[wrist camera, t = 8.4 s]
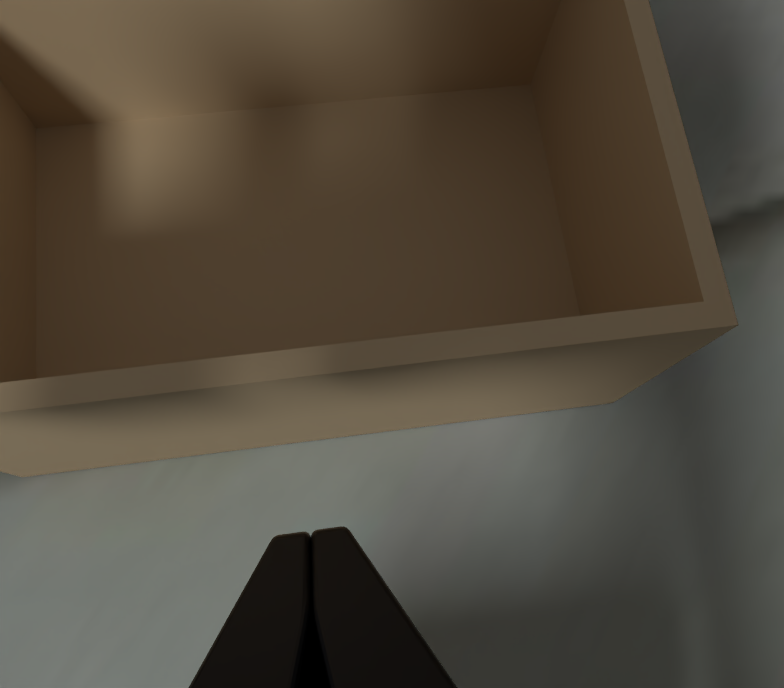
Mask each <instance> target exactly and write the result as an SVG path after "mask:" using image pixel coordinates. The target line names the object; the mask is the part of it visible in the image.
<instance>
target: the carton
mask: <svg viewBox="0 0 784 688" xmlns="http://www.w3.org/2000/svg"><path fill="white" fill-rule="evenodd" d="M736 326H738V322H737V318H736V315H735V311H734V307H733V304H732V300H731V297H730V293H729V289H728V286H727V282H726V279H725V275H724V271H723V268H722V264H721V260H720V257H719V253H718V250H717V246H716V242H715V239H714V235H713V232H712V228H711V224H710V221H709V217H708V213H707V210H706V206H705V203H704V199H703V195H702V192H701V188H700V185H699V181H698V177H697V174H696V170H695V166H694V163H693V159H692V156H691V152H690V148H689V145H688V141H687V138H686V134H685V130H684V127H683V123H682V119H681V116H680V112H679V109H678V105H677V101H676V98H675V94H674V91H673V87H672V83H671V80H670V76H669V72H668V69H667V65H666V62H665V58H664V54H663V51H662V47H661V44H660V40H659V36H658V33H657V29H656V25H655V22H654V18H653V15H652V11H651V7H650V4H649V0H0V472H4V473H8V474H12V475H16V476H20V477H28V476H36V475H43V474H51V473H59V472H67V471H75V470H83V469H91V468H99V467H107V466H115V465H123V464H131V463H139V462H147V461H155V460H163V459H171V458H179V457H187V456H195V455H203V454H210V453H218V452H226V451H234V450H242V449H250V448H258V447H266V446H274V445H282V444H290V443H298V442H306V441H314V440H322V439H330V438H338V437H346V436H354V435H362V434H370V433H377V432H385V431H393V430H401V429H409V428H417V427H425V426H433V425H441V424H449V423H457V422H465V421H473V420H481V419H489V418H497V417H505V416H513V415H521V414H529V413H537V412H544V411H552V410H560V409H568V408H576V407H584V406H592V405H600V404H608V403H613V402H615V401H616V400H618V399H620V398H621V397H623V396H624V395H626V394H628V393H629V392H631V391H633V390H634V389H636V388H637V387H639V386H641V385H642V384H644V383H645V382H647V381H649V380H650V379H652V378H654V377H655V376H657V375H658V374H660V373H662V372H663V371H665V370H666V369H668V368H670V367H671V366H673V365H675V364H676V363H678V362H679V361H681V360H683V359H684V358H686V357H687V356H689V355H691V354H692V353H694V352H696V351H697V350H699V349H700V348H702V347H704V346H705V345H707V344H708V343H710V342H712V341H713V340H715V339H717V338H718V337H720V336H721V335H723V334H725V333H726V332H728V331H729V330H731V329H733V328H734V327H736Z"/></svg>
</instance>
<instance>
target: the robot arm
mask: <svg viewBox="0 0 784 688" xmlns="http://www.w3.org/2000/svg"><path fill="white" fill-rule="evenodd" d="M189 688H457V687H456V685H455V684H454V682H453V681H452V679H451V678H450V676H449V675H448V674H447V672H446V671H445V669H444V668H443V666H442V665H441V663H440V662H439V660H438V659H437V657H436V656H435V655H434V653H433V652H432V650H431V649H430V647H429V646H428V644H427V643H426V641H425V640H424V638H423V637H422V636H421V634H420V633H419V631H418V630H417V628H416V627H415V625H414V624H413V622H412V621H411V619H410V618H409V617H408V615H407V614H406V612H405V611H404V609H403V608H402V606H401V605H400V603H399V602H398V600H397V599H396V598H395V596H394V595H393V593H392V592H391V590H390V589H389V587H388V586H387V584H386V583H385V581H384V580H383V579H382V577H381V576H380V574H379V573H378V571H377V570H376V568H375V567H374V565H373V564H372V562H371V561H370V560H369V558H368V557H367V555H366V554H365V552H364V551H363V549H362V548H361V546H360V545H359V543H358V542H357V541H356V539H355V538H354V536H353V535H352V533H351V532H350V531H349V530H348V529H347V528H346V527H334V528H327V529H319V530H315V531H314V532H313V533H312V535H311V536H310V535H309V533H307V532H297V533H290V534H283V535H277V536H275V537H274V538H273V539H272V540H271V542H270V543H269V545H268V547H267V549H266V551H265V552H264V554H263V556H262V558H261V559H260V561H259V563H258V565H257V567H256V568H255V570H254V572H253V574H252V576H251V577H250V579H249V581H248V583H247V584H246V586H245V588H244V590H243V592H242V593H241V595H240V597H239V599H238V601H237V602H236V604H235V606H234V608H233V609H232V611H231V613H230V615H229V617H228V618H227V620H226V622H225V624H224V626H223V627H222V629H221V631H220V633H219V634H218V636H217V638H216V640H215V642H214V643H213V645H212V647H211V649H210V650H209V652H208V654H207V656H206V658H205V659H204V661H203V663H202V665H201V667H200V668H199V670H198V672H197V674H196V675H195V677H194V679H193V681H192V683H191V684H190V686H189Z"/></svg>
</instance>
